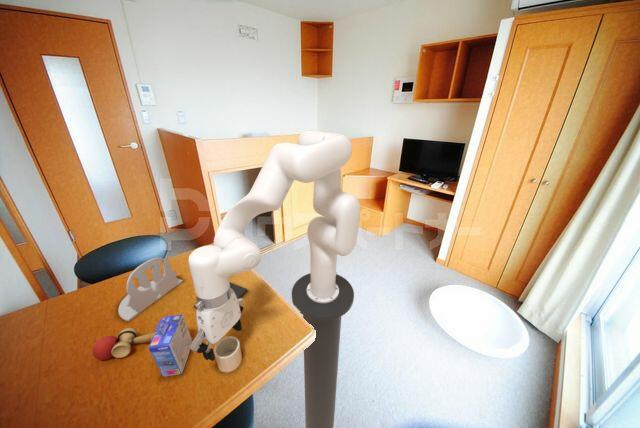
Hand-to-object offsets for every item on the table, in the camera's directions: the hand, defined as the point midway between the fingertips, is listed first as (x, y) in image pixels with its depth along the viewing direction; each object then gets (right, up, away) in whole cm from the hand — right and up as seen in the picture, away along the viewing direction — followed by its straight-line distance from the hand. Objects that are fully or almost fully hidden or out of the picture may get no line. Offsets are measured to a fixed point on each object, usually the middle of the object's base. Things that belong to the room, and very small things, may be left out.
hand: (224, 342), depth 65 cm
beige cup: (0, -7, +4) cm, 8 cm away
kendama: (-30, -5, +7) cm, 31 cm away
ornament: (-41, +4, +27) cm, 49 cm away
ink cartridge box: (-15, -7, +4) cm, 17 cm away
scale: (-11, +3, +25) cm, 28 cm away
